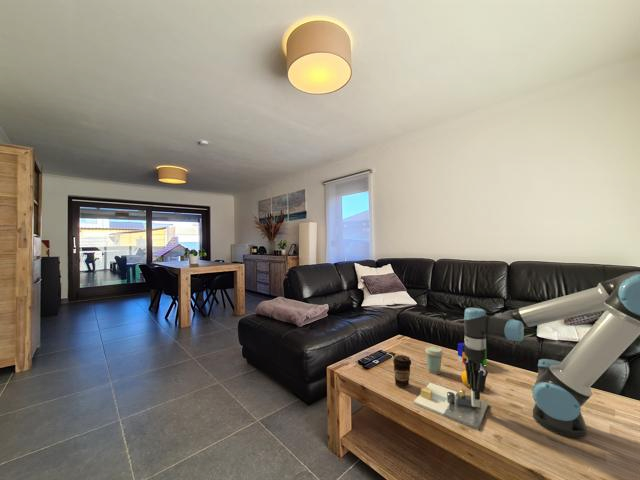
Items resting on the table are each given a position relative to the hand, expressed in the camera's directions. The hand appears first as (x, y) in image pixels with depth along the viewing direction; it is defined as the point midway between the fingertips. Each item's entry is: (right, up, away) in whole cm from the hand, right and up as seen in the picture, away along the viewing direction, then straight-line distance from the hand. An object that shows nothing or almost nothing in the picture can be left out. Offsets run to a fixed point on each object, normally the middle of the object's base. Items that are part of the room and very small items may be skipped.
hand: (475, 405), depth 107 cm
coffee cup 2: (-2, -3, +33) cm, 34 cm away
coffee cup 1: (-23, -3, +20) cm, 31 cm away
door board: (-12, -3, +9) cm, 15 cm away
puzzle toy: (+23, -3, +43) cm, 49 cm away
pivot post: (-8, -3, +5) cm, 9 cm away
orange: (+9, -3, +19) cm, 22 cm away
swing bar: (-1, -1, +3) cm, 3 cm away
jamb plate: (-3, -2, +1) cm, 4 cm away
